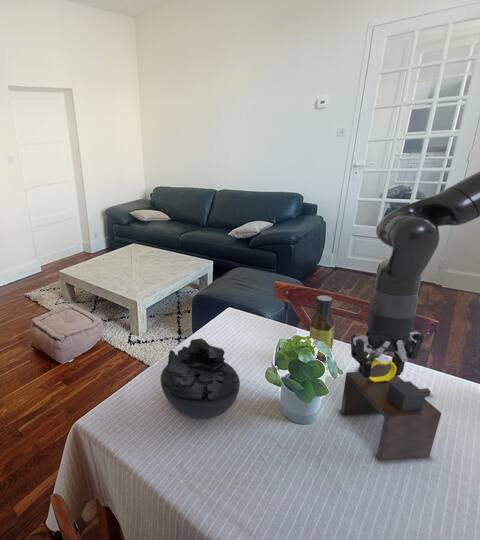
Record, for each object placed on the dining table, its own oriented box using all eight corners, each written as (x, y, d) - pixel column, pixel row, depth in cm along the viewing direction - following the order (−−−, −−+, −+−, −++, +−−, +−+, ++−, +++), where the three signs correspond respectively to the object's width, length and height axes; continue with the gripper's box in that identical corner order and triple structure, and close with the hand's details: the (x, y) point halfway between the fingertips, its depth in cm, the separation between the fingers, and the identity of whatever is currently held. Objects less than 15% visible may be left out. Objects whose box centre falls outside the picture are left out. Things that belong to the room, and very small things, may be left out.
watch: (388, 375, 78) (392, 353, 76) (396, 383, 75) (401, 361, 73) (360, 376, 78) (364, 355, 76) (368, 384, 76) (372, 362, 74)
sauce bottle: (334, 361, 102) (342, 303, 95) (312, 361, 103) (318, 303, 96) (325, 349, 108) (332, 293, 101) (304, 349, 109) (309, 294, 102)
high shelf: (381, 408, 84) (389, 368, 80) (429, 457, 71) (441, 413, 67) (340, 411, 84) (346, 372, 80) (380, 461, 71) (389, 416, 67)
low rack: (394, 366, 97) (395, 362, 97) (429, 395, 86) (431, 390, 85) (358, 369, 98) (359, 365, 97) (389, 398, 86) (390, 394, 86)
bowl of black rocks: (243, 391, 95) (244, 333, 88) (234, 447, 78) (234, 381, 72) (174, 377, 103) (170, 324, 97) (152, 426, 87) (146, 365, 80)
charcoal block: (406, 396, 71) (409, 381, 70) (421, 410, 68) (425, 394, 66) (386, 398, 72) (389, 382, 70) (401, 412, 68) (404, 396, 66)
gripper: (368, 320, 67) (357, 388, 73) (443, 313, 66) (426, 382, 72) (345, 303, 74) (337, 367, 80) (413, 297, 73) (400, 361, 79)
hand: (379, 374), depth 76 cm, fingers closed on watch, 6 cm apart
